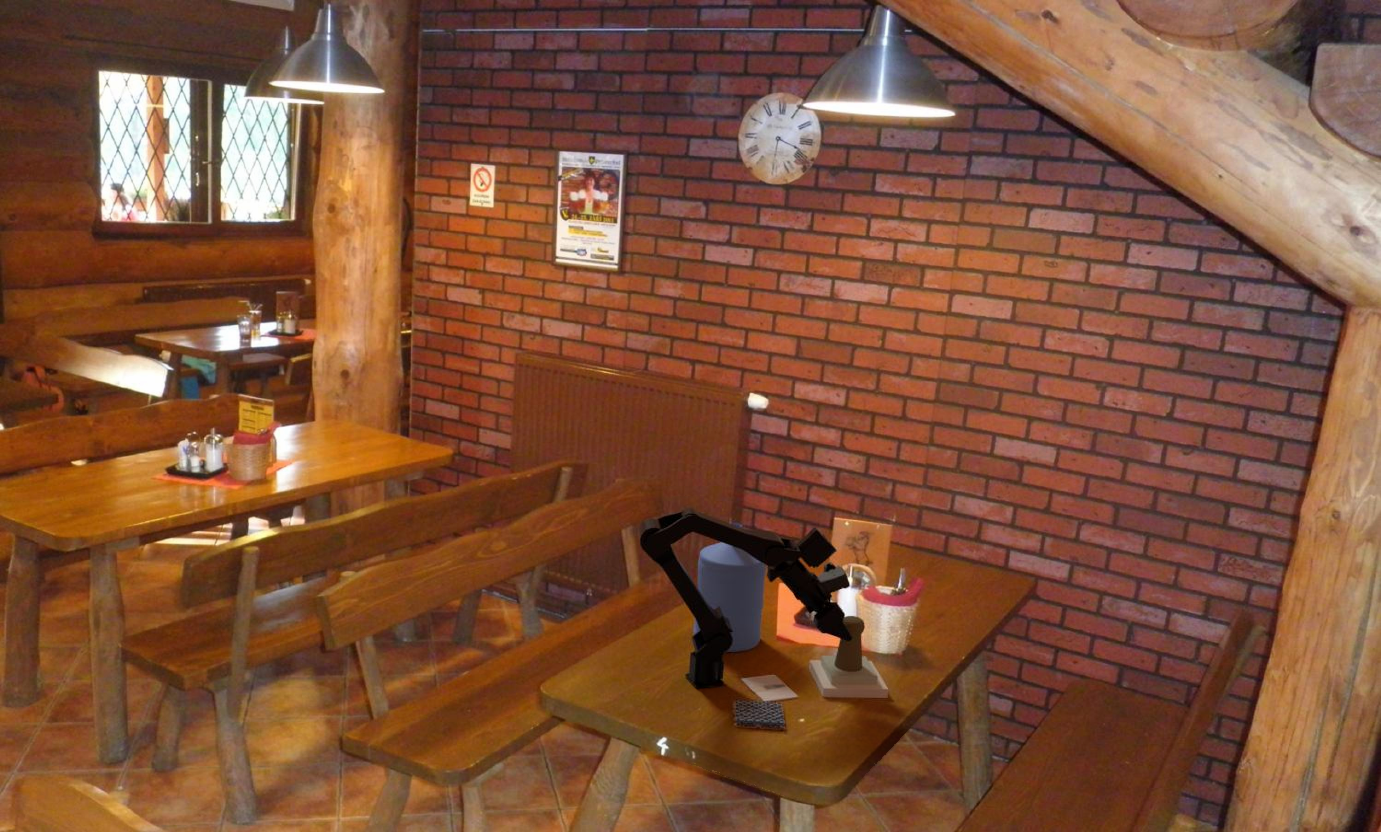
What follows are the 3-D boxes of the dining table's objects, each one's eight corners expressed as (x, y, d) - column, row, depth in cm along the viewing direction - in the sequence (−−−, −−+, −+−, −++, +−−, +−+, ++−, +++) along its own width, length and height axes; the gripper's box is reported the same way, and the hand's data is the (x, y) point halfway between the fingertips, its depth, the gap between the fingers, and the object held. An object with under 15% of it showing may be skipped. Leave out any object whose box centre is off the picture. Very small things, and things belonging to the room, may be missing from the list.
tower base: (822, 696, 247) (824, 679, 247) (809, 668, 261) (810, 651, 260) (887, 697, 249) (889, 680, 248) (870, 669, 263) (872, 652, 262)
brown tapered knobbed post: (867, 669, 253) (872, 621, 250) (843, 673, 250) (848, 624, 248) (852, 658, 258) (857, 611, 256) (829, 661, 256) (833, 614, 253)
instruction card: (762, 702, 243) (763, 700, 243) (740, 679, 253) (740, 678, 253) (798, 697, 246) (798, 696, 246) (774, 675, 256) (774, 673, 256)
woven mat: (782, 708, 242) (783, 699, 242) (786, 733, 232) (787, 724, 231) (731, 705, 242) (732, 696, 241) (733, 730, 232) (734, 721, 231)
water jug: (772, 648, 270) (782, 532, 264) (711, 657, 263) (720, 538, 257) (740, 623, 284) (749, 512, 278) (681, 630, 277) (689, 517, 271)
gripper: (839, 571, 239) (886, 624, 243) (819, 541, 257) (863, 591, 261) (797, 607, 240) (844, 658, 243) (780, 574, 258) (825, 623, 262)
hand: (845, 631), depth 252 cm, fingers open, 9 cm apart
